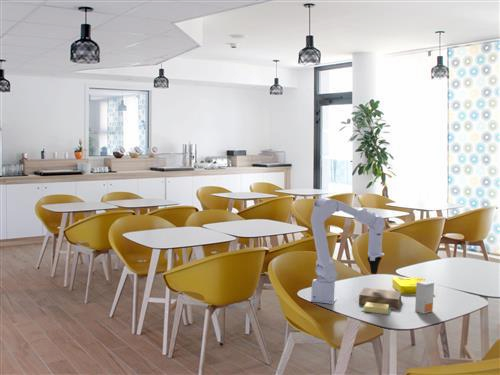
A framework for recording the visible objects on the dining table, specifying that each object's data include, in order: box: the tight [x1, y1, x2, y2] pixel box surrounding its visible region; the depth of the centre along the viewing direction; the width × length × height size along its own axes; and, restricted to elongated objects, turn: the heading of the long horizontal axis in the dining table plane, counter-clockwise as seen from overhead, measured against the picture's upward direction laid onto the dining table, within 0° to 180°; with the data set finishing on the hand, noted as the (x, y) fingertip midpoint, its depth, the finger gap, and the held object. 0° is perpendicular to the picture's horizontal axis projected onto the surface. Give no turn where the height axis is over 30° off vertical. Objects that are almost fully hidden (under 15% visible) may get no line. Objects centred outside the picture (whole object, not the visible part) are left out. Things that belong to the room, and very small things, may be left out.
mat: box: [360, 305, 393, 315], centre depth 224 cm, size 11×9×1 cm
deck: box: [358, 287, 402, 310], centre depth 234 cm, size 16×12×4 cm
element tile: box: [392, 276, 427, 296], centre depth 254 cm, size 15×15×5 cm
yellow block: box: [363, 302, 389, 315], centre depth 222 cm, size 9×6×2 cm, turn 69°
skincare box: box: [414, 280, 435, 314], centre depth 222 cm, size 6×4×12 cm
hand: (374, 273), depth 241 cm, fingers closed
